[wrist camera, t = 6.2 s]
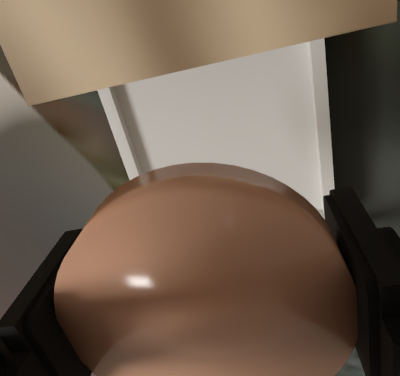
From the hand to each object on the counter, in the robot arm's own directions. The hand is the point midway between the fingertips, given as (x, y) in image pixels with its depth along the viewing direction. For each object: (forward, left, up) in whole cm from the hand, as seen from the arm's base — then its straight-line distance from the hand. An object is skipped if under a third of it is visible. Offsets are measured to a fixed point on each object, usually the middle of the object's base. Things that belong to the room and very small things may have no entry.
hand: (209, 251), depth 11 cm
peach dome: (0, 0, +1) cm, 1 cm away
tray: (0, 0, -9) cm, 9 cm away
